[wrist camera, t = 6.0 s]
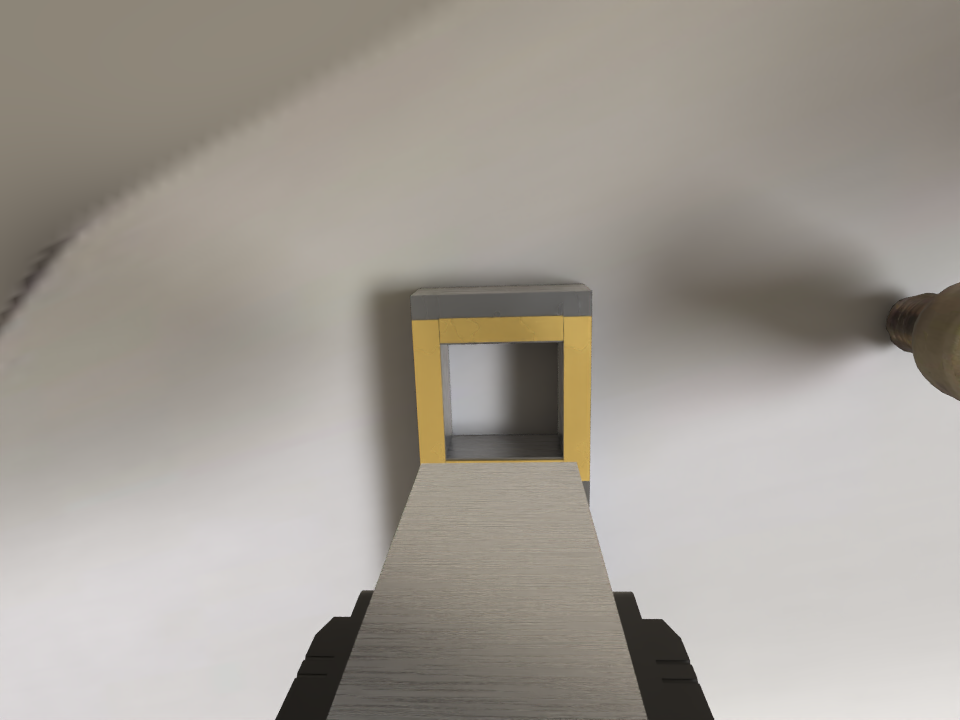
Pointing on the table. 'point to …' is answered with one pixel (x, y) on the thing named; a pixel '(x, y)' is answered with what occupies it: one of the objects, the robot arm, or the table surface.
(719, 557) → the table surface
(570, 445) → the grey long flat frame
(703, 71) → the table surface
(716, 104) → the table surface
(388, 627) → the brushed metal square block
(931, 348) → the beige stone carving
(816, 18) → the table surface
